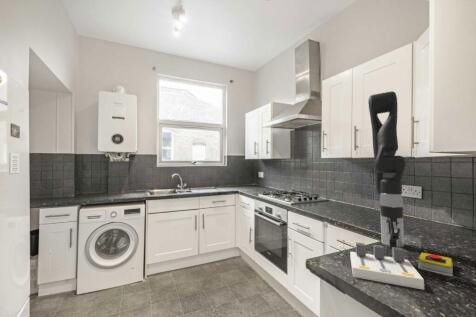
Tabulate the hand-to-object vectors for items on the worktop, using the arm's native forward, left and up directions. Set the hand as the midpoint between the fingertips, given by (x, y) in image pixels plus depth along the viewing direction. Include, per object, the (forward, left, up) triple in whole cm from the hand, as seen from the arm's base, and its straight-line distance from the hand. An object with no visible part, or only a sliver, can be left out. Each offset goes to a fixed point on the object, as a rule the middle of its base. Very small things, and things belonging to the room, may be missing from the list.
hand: (393, 248), depth 86 cm
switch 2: (+8, -6, -2) cm, 10 cm away
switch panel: (+13, -6, -5) cm, 15 cm away
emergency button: (-3, +14, -6) cm, 15 cm away
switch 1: (+8, -12, -2) cm, 14 cm away
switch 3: (+8, 0, -2) cm, 8 cm away
